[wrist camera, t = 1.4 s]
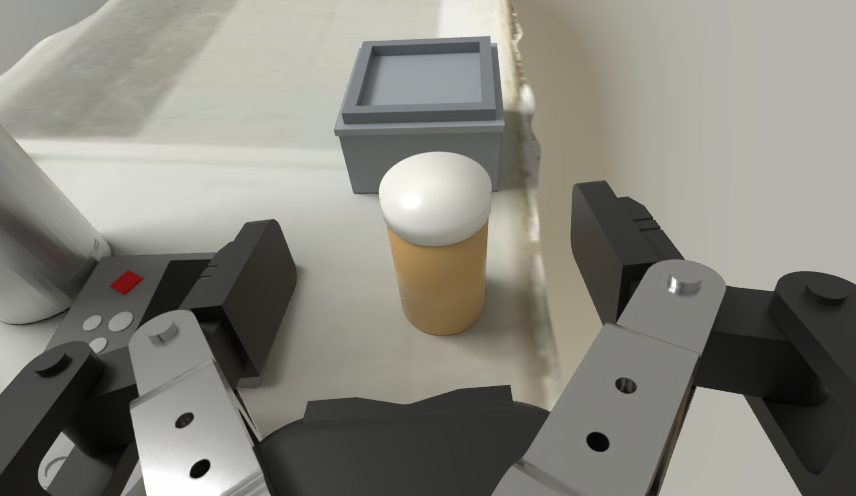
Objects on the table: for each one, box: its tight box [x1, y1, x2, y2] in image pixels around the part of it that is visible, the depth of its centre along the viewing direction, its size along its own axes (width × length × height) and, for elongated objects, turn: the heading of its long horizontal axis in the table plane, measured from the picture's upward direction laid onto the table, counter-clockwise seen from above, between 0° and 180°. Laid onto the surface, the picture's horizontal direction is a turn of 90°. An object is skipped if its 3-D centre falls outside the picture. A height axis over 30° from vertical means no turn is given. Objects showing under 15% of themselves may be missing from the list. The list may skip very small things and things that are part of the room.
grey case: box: [334, 36, 505, 193], centre depth 42 cm, size 13×13×8 cm
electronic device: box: [43, 253, 267, 388], centre depth 33 cm, size 10×2×15 cm
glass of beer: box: [379, 152, 492, 336], centre depth 29 cm, size 6×6×11 cm
